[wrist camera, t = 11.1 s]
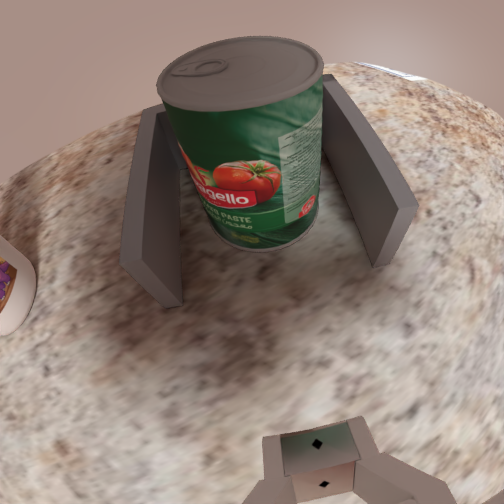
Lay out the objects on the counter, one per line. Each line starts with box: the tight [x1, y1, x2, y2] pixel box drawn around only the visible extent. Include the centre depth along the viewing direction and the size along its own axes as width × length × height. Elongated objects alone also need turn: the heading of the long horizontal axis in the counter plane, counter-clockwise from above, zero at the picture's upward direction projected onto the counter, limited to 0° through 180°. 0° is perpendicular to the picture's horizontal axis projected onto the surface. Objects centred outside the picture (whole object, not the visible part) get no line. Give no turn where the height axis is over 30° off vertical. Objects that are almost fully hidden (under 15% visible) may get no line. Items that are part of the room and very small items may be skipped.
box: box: [119, 74, 419, 308], centre depth 19 cm, size 14×13×6 cm
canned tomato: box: [156, 36, 324, 252], centre depth 17 cm, size 8×8×11 cm
